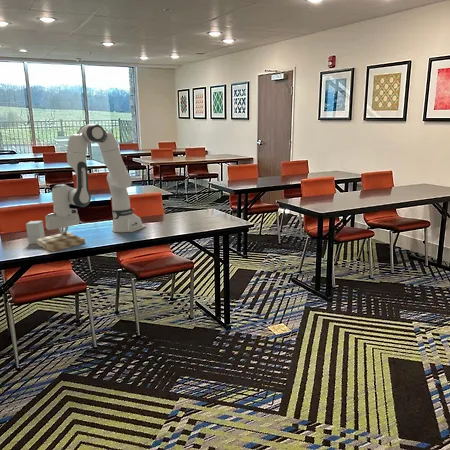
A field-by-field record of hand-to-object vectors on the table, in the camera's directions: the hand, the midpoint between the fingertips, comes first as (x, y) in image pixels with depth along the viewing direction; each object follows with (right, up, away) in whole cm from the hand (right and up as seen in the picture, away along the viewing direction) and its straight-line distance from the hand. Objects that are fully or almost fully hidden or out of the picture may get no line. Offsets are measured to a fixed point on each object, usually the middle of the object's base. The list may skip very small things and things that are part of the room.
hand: (64, 234), depth 250 cm
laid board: (+5, -7, -9) cm, 12 cm away
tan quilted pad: (-2, -5, -4) cm, 7 cm away
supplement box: (-16, -5, +1) cm, 17 cm away
